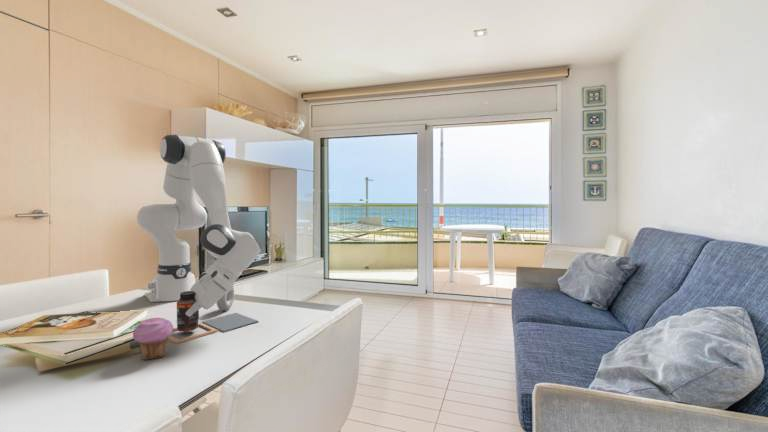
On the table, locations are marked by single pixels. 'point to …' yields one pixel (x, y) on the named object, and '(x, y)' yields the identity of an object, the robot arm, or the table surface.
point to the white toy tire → (226, 300)
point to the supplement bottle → (182, 319)
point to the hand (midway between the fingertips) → (185, 311)
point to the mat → (230, 322)
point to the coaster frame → (194, 335)
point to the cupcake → (153, 337)
